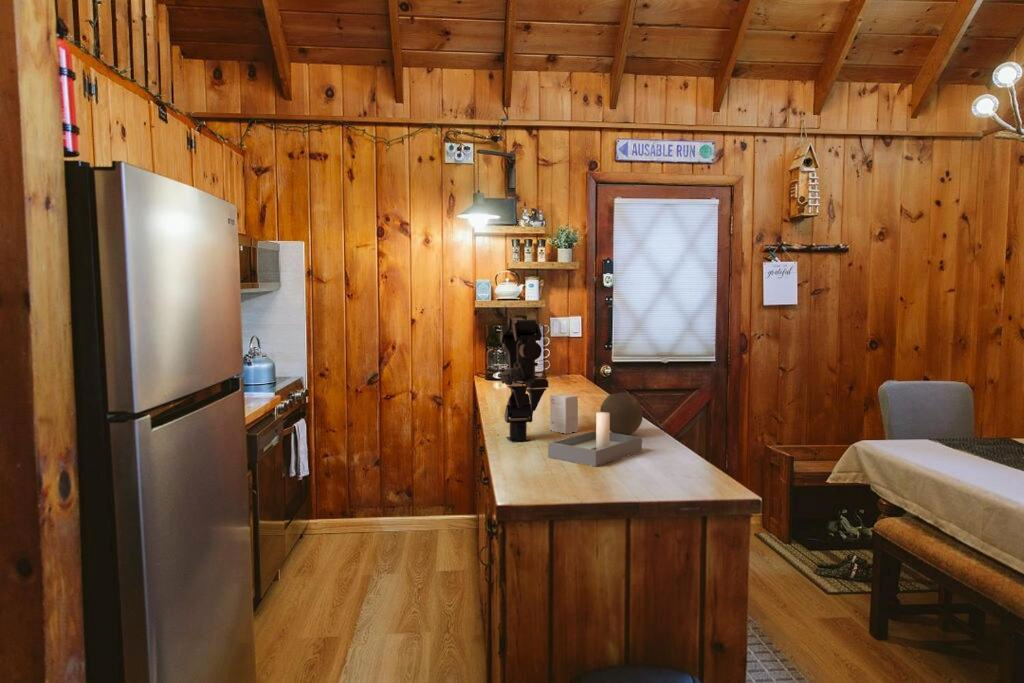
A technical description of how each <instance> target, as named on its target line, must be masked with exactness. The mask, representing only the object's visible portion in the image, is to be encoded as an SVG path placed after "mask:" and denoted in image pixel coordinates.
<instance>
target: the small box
mask: <svg viewBox="0 0 1024 683" xmlns="http://www.w3.org/2000/svg"><path fill="white" fill-rule="evenodd" d="M578 398H579V397H578V396H577V395H573V394H565V393H559V394H551V395H550V397H549V402H550V405H549V406H550V408H549V410H550V411H549V418H550V420H549V423H550V424H549V431H550V430H552V431H551V432H553V431H556V432H555V433H558V432H560V433H559V434H562V433H564V435H567V434H566V433H570V434H573V433H572V432H575V433H577V432H578V431H579V430H578V429H579V426H578V425H579V420H578V419H579V415H578V414H579V413H578V412H579V408H578V407H579V406H578V404H579V402H578Z"/></svg>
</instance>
